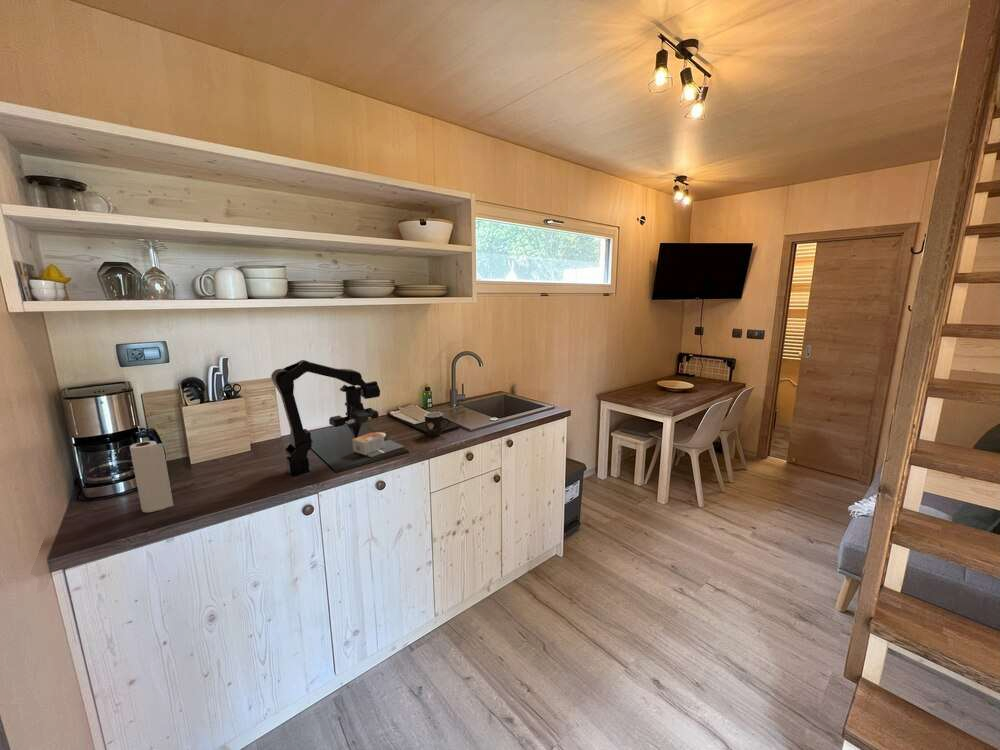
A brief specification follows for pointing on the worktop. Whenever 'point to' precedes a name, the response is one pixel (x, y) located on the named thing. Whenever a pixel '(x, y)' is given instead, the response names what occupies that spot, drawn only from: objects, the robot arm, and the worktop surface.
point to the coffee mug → (434, 423)
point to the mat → (386, 448)
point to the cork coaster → (381, 433)
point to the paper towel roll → (151, 476)
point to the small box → (368, 443)
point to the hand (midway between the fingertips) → (355, 437)
